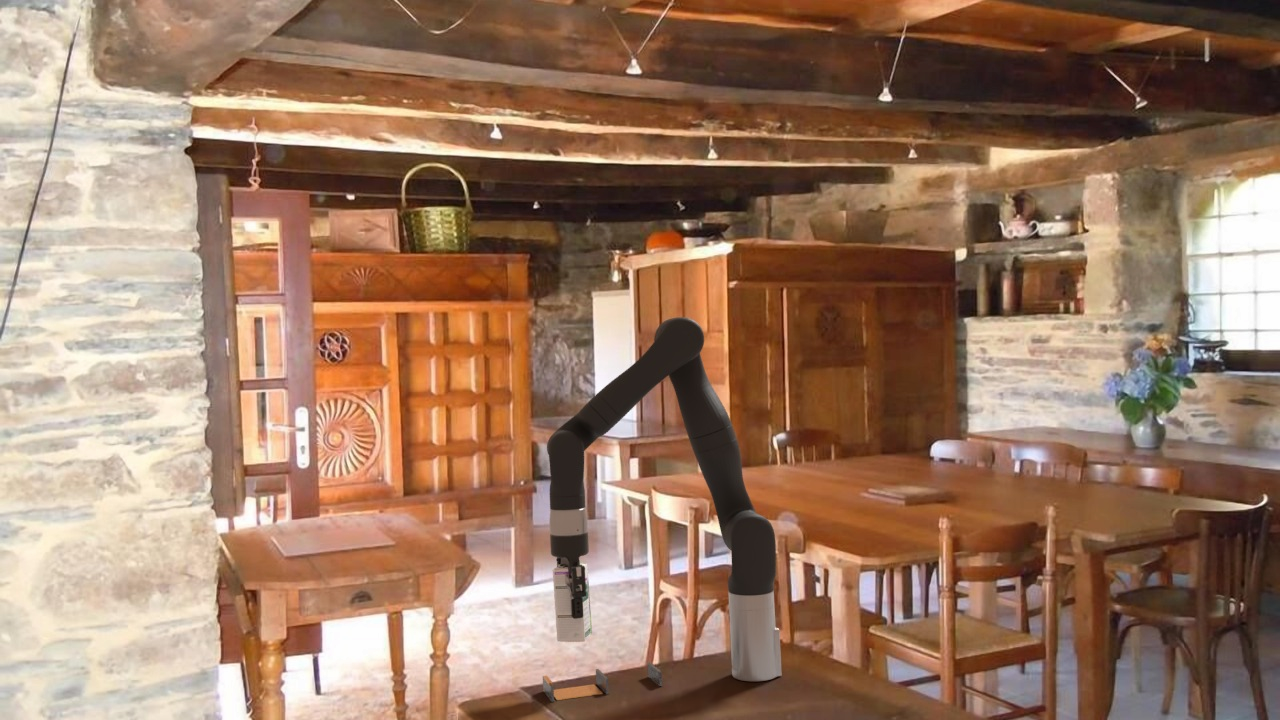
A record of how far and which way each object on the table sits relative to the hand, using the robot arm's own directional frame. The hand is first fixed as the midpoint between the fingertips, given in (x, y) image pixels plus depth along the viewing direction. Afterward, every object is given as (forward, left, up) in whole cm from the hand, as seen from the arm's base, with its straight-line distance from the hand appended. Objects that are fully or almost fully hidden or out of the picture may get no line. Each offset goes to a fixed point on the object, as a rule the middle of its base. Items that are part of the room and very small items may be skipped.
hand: (572, 613), depth 213 cm
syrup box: (0, 0, -5) cm, 5 cm away
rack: (-5, 0, -16) cm, 17 cm away
